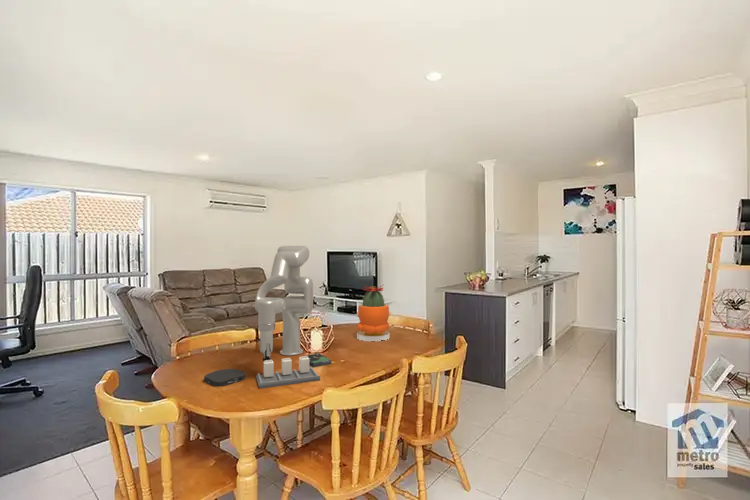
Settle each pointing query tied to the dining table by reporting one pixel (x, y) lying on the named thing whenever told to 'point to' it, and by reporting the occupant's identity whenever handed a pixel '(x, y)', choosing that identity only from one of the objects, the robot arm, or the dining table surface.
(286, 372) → the tab
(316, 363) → the disk drive
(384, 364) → the dining table surface
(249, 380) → the dining table surface
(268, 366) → the tab
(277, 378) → the grey divided tray
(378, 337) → the potted cactus
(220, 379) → the media streaming box
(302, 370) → the tab
